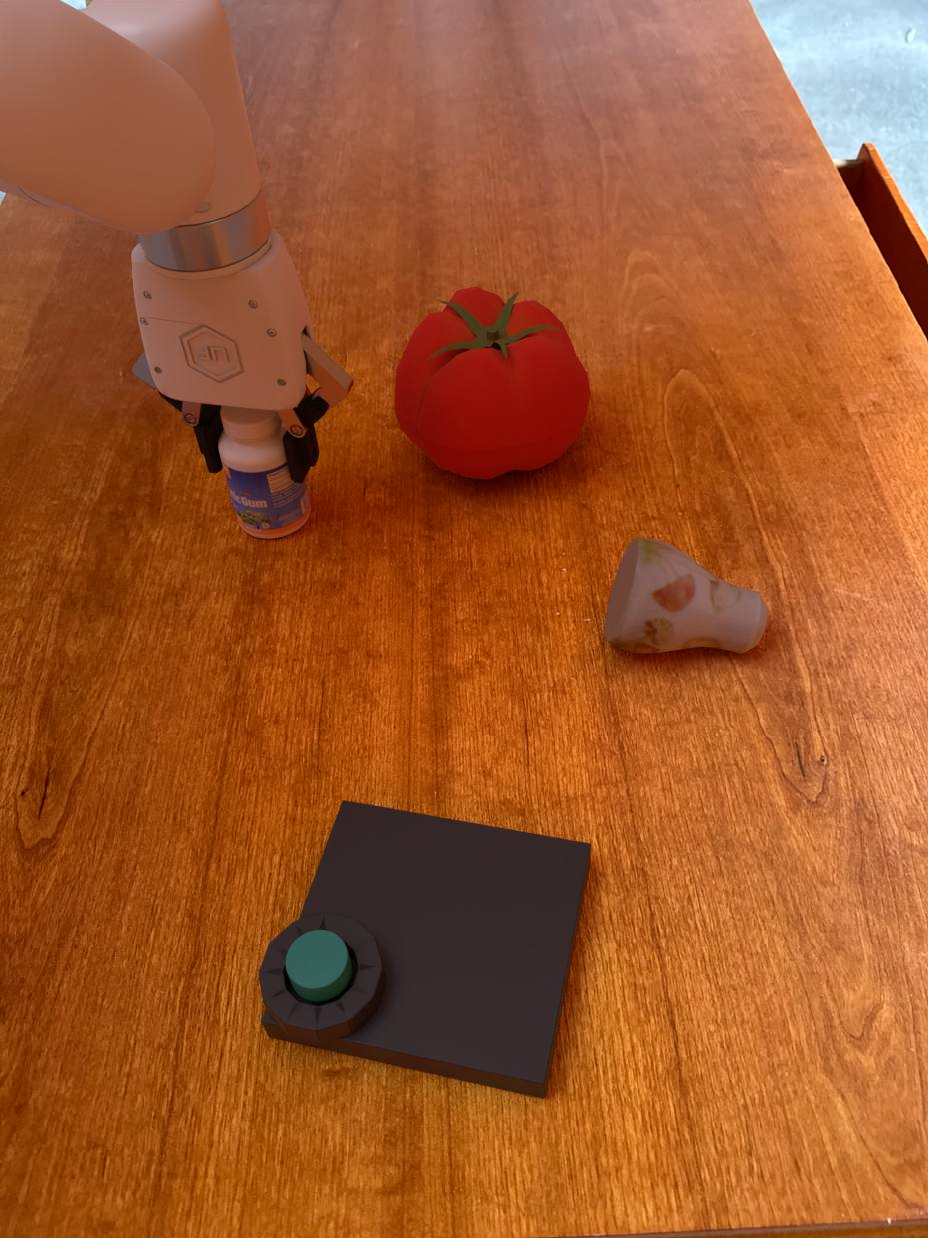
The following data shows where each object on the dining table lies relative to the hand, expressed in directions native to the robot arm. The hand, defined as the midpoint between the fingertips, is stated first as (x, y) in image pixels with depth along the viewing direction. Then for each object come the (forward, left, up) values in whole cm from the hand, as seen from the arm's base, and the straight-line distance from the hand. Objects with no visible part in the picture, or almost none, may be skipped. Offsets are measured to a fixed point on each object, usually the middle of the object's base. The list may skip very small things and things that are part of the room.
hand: (262, 463), depth 79 cm
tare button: (+15, -34, -2) cm, 37 cm away
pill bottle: (0, 0, -5) cm, 5 cm away
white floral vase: (+30, -6, -5) cm, 31 cm away
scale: (+20, -30, -5) cm, 36 cm away
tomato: (+14, +10, -5) cm, 18 cm away
